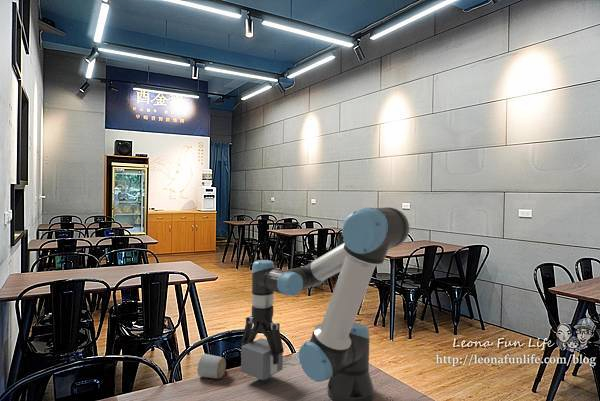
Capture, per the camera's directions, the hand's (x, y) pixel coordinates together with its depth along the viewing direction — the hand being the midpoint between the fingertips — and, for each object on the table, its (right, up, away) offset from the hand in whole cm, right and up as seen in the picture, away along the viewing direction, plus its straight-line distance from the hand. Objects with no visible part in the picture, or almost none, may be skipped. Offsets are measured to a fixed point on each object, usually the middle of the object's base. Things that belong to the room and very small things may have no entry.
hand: (261, 368), depth 139 cm
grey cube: (0, -1, 0) cm, 1 cm away
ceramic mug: (-18, -4, +4) cm, 19 cm away
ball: (+1, -2, +1) cm, 2 cm away
